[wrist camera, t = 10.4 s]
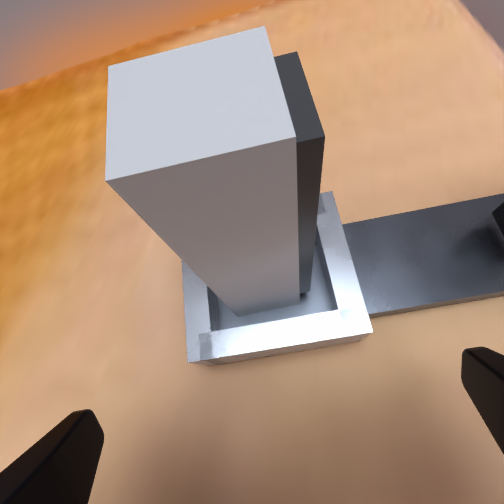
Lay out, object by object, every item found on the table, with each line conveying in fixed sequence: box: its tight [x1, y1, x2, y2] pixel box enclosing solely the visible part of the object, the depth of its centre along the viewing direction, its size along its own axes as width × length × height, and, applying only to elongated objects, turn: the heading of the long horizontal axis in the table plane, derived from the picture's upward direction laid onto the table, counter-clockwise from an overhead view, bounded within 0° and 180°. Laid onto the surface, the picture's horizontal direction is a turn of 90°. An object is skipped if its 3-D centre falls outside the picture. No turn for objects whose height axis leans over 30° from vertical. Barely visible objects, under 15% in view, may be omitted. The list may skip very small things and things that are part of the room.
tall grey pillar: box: [105, 26, 325, 316], centre depth 12 cm, size 3×4×12 cm
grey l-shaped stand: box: [182, 191, 504, 366], centre depth 12 cm, size 7×20×14 cm, turn 98°
